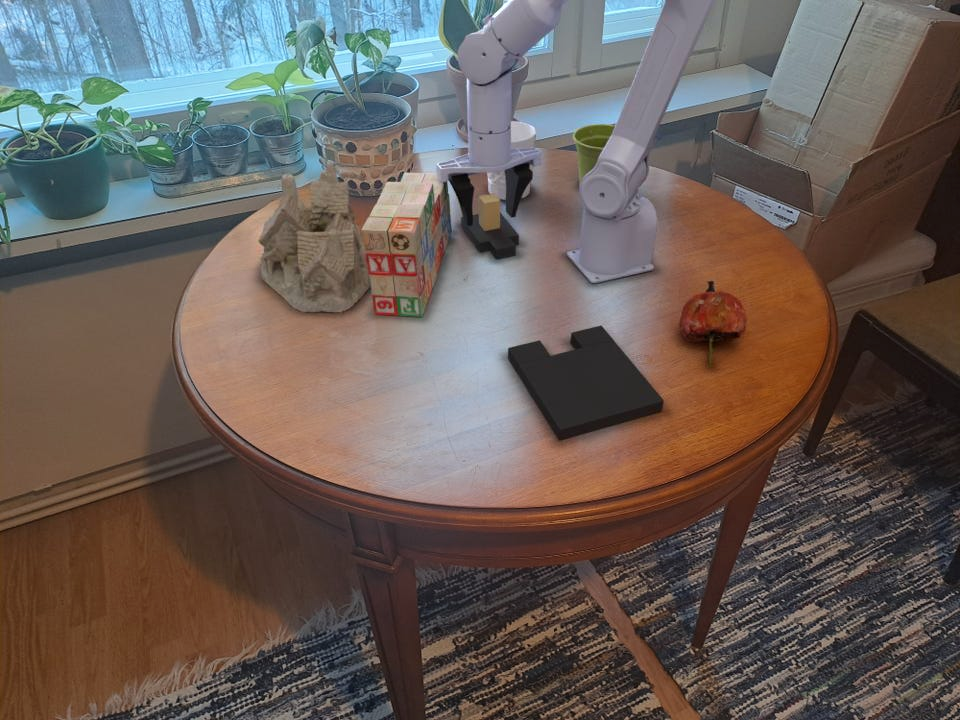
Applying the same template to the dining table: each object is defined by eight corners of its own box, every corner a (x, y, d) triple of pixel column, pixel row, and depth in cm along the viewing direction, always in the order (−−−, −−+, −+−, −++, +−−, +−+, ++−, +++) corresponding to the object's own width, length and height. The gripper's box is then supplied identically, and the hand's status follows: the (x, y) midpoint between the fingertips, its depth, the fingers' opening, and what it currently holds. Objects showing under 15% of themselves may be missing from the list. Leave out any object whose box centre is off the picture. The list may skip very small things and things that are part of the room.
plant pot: (612, 206, 110) (619, 153, 104) (559, 191, 114) (562, 139, 108) (636, 183, 116) (644, 131, 110) (585, 169, 120) (589, 119, 114)
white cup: (488, 179, 118) (488, 120, 111) (535, 181, 117) (538, 122, 110) (481, 201, 112) (481, 140, 105) (531, 204, 111) (534, 142, 104)
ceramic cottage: (278, 241, 102) (258, 145, 92) (389, 255, 100) (380, 158, 90) (233, 309, 91) (204, 208, 81) (356, 326, 89) (342, 225, 79)
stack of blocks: (410, 230, 105) (402, 150, 97) (452, 232, 104) (447, 152, 96) (374, 315, 89) (360, 228, 81) (423, 318, 88) (413, 230, 80)
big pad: (661, 411, 75) (664, 400, 74) (559, 441, 72) (560, 429, 71) (600, 335, 85) (601, 325, 84) (507, 358, 82) (507, 347, 81)
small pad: (525, 253, 100) (527, 215, 96) (485, 261, 98) (485, 223, 94) (498, 219, 107) (498, 182, 103) (461, 226, 106) (460, 189, 102)
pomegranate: (740, 375, 83) (748, 294, 85) (744, 359, 76) (753, 272, 78) (675, 368, 85) (684, 289, 87) (673, 352, 78) (684, 268, 80)
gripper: (528, 107, 98) (525, 197, 106) (427, 122, 94) (433, 214, 103) (549, 126, 93) (544, 219, 101) (444, 143, 89) (448, 237, 98)
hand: (489, 218), depth 102 cm, fingers open, 6 cm apart
